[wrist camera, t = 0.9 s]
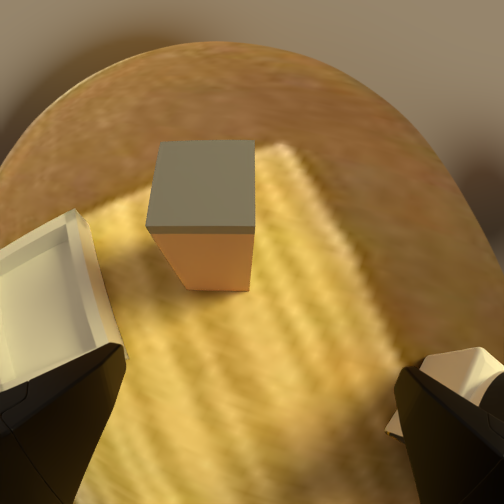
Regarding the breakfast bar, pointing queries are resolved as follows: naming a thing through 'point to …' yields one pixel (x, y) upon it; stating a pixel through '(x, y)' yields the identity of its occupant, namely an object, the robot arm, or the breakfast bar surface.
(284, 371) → the breakfast bar surface
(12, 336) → the tray
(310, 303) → the breakfast bar surface
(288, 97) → the breakfast bar surface
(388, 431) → the small carton
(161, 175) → the grey-topped orange box
